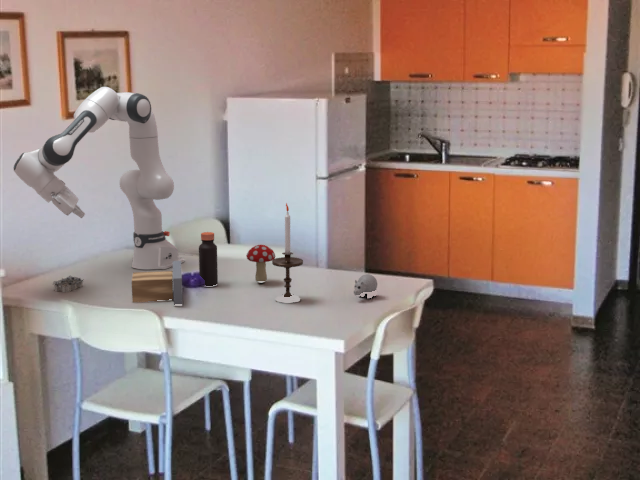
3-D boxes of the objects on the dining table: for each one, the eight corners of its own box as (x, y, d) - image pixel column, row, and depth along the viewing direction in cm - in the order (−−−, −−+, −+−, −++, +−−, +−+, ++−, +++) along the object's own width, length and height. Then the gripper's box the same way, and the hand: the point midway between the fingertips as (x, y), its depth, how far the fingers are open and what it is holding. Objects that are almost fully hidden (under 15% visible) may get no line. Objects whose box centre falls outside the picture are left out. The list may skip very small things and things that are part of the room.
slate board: (173, 286, 333) (172, 260, 331) (181, 286, 334) (180, 260, 332) (173, 306, 308) (172, 278, 306) (182, 306, 309) (181, 278, 307)
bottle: (195, 285, 336) (194, 233, 332) (209, 282, 341) (208, 230, 336) (207, 288, 331) (206, 236, 327) (221, 285, 336) (220, 233, 332)
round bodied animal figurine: (345, 300, 317) (345, 277, 315) (364, 293, 326) (364, 270, 324) (362, 304, 313) (362, 280, 311) (381, 296, 322) (381, 274, 320)
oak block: (134, 293, 325) (133, 272, 323) (173, 292, 327) (172, 271, 326) (132, 302, 314) (131, 280, 312) (172, 301, 316) (172, 279, 314)
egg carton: (66, 293, 325) (65, 282, 324) (50, 291, 328) (49, 280, 327) (86, 286, 334) (85, 276, 333) (70, 284, 338) (70, 273, 337)
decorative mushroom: (258, 288, 332) (258, 249, 328) (240, 283, 340) (240, 244, 336) (281, 283, 339) (281, 245, 335) (263, 278, 347) (263, 240, 344)
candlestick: (268, 297, 320) (267, 201, 312) (296, 294, 324) (296, 199, 317) (278, 305, 310) (278, 206, 303) (307, 302, 314) (308, 204, 307)
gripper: (56, 188, 307) (87, 215, 311) (62, 179, 327) (91, 204, 331) (43, 202, 307) (75, 228, 311) (50, 192, 327) (79, 216, 331)
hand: (83, 216), depth 321 cm, fingers closed
